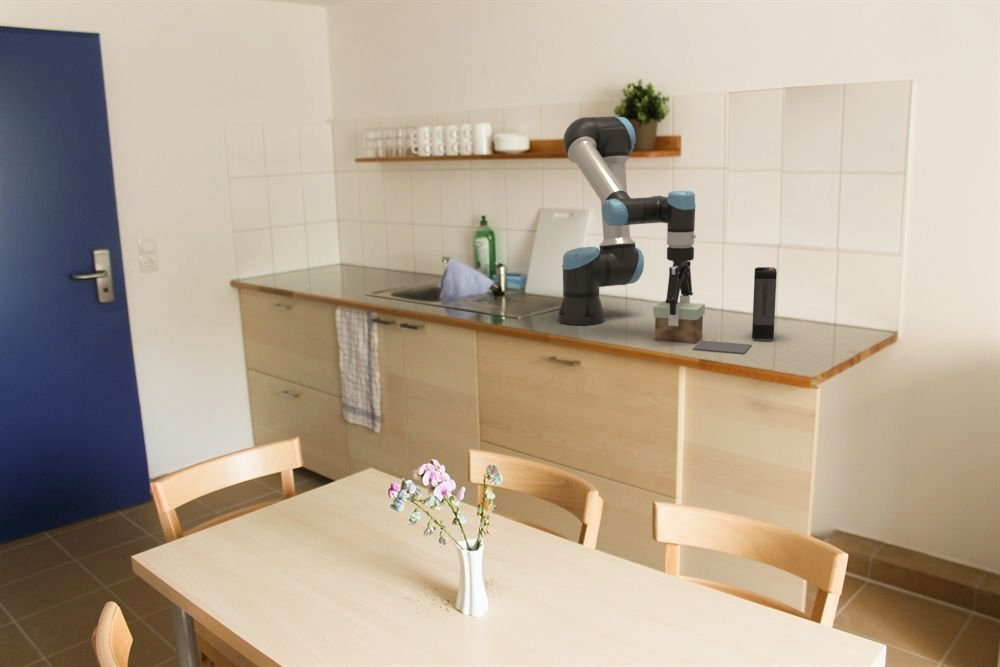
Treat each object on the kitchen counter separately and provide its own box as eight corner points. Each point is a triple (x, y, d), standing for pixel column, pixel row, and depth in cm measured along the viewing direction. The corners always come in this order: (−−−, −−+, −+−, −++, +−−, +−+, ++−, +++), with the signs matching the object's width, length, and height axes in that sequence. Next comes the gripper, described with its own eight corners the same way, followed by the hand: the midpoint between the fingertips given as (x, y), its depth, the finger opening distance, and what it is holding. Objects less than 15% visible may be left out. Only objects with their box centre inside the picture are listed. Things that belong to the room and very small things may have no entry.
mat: (692, 349, 234) (692, 348, 233) (701, 341, 242) (701, 340, 242) (744, 354, 227) (744, 352, 227) (751, 345, 236) (751, 344, 236)
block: (653, 322, 244) (653, 306, 243) (662, 316, 252) (662, 301, 251) (696, 325, 238) (696, 309, 237) (704, 319, 246) (704, 303, 245)
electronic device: (752, 333, 250) (754, 266, 246) (773, 334, 248) (776, 267, 244) (751, 341, 241) (754, 271, 237) (773, 341, 240) (776, 272, 235)
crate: (655, 340, 246) (655, 316, 244) (662, 334, 252) (662, 311, 250) (696, 343, 240) (696, 319, 239) (702, 338, 247) (702, 314, 245)
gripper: (682, 251, 228) (680, 330, 233) (703, 241, 249) (701, 314, 253) (655, 250, 232) (654, 328, 237) (678, 240, 252) (677, 312, 257)
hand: (679, 321), depth 245 cm, fingers open, 11 cm apart
